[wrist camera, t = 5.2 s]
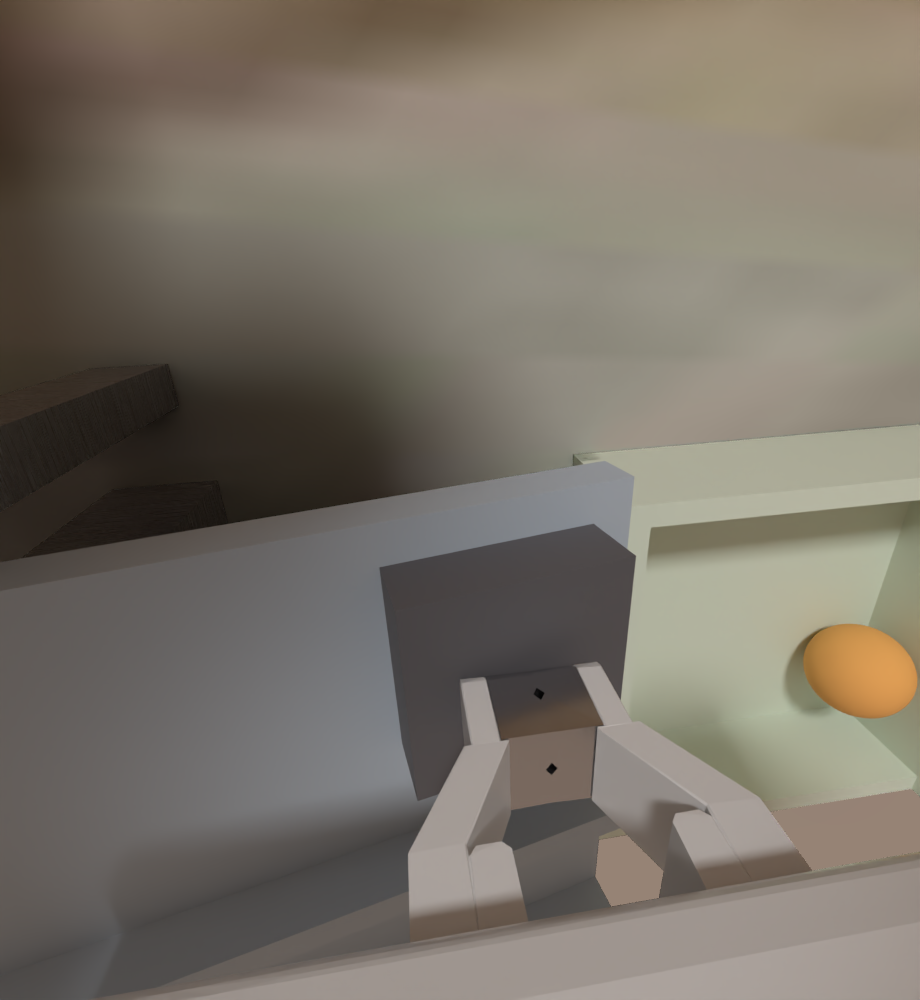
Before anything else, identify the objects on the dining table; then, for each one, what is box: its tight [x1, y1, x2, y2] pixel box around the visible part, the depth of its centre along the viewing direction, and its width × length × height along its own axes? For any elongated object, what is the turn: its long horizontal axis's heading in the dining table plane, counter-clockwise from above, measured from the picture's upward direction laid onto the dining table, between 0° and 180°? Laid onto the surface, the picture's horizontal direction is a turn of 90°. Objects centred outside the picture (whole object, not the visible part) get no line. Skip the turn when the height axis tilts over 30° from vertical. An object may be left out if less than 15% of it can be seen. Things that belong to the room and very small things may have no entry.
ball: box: [803, 624, 917, 719], centre depth 23 cm, size 4×4×4 cm
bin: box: [573, 424, 920, 840], centre depth 21 cm, size 16×16×7 cm
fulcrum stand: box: [0, 364, 228, 559], centre depth 16 cm, size 20×4×11 cm, turn 3°
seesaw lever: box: [0, 461, 636, 1000], centre depth 11 cm, size 16×28×4 cm, turn 93°
